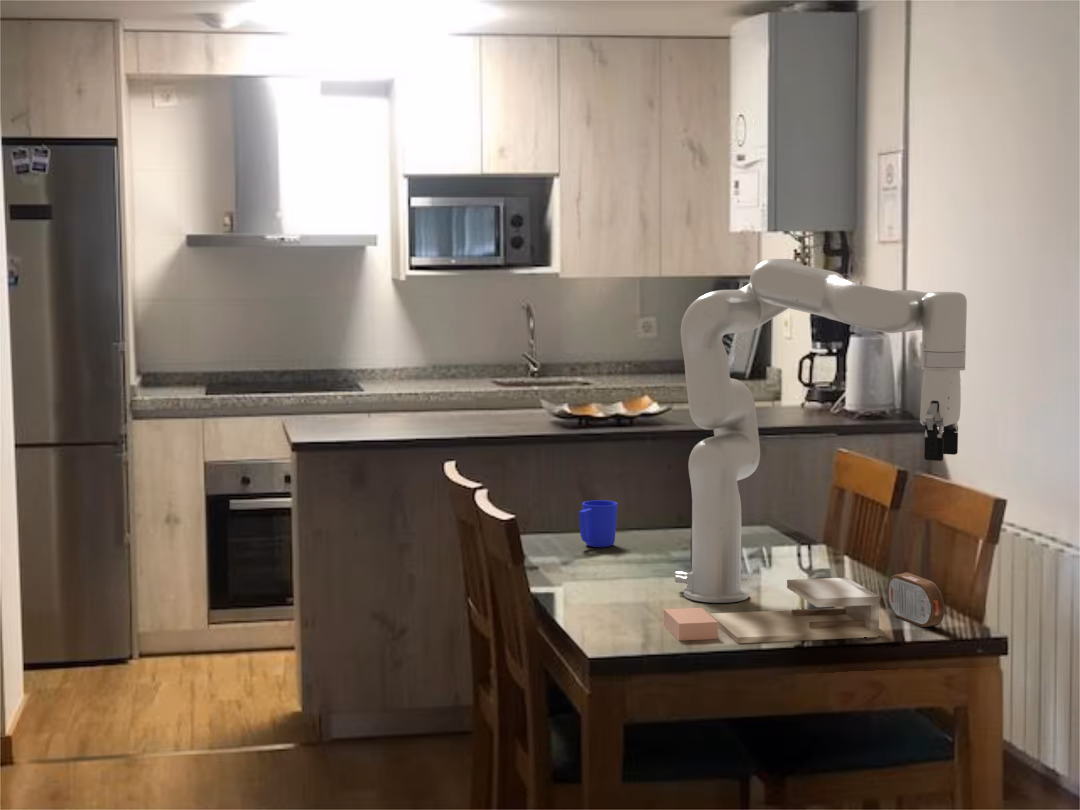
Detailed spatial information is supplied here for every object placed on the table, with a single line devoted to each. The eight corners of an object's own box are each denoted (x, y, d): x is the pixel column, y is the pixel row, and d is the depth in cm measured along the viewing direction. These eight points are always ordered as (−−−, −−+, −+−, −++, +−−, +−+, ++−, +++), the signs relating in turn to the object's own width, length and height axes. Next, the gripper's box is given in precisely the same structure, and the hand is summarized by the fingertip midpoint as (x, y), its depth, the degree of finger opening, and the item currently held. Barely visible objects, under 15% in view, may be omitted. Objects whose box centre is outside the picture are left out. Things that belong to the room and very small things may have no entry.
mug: (566, 549, 346) (566, 505, 345) (594, 541, 355) (594, 499, 355) (596, 553, 341) (596, 509, 340) (624, 544, 351) (624, 502, 350)
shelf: (737, 643, 260) (738, 603, 260) (709, 618, 278) (709, 581, 277) (883, 636, 265) (884, 597, 264) (846, 613, 282) (847, 576, 282)
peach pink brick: (717, 638, 263) (718, 621, 263) (678, 640, 262) (679, 623, 262) (701, 623, 274) (701, 607, 274) (663, 625, 273) (663, 609, 273)
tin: (945, 631, 269) (946, 584, 268) (930, 632, 268) (931, 585, 267) (898, 612, 283) (899, 568, 282) (883, 613, 282) (884, 569, 281)
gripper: (935, 358, 277) (933, 450, 279) (908, 363, 262) (906, 461, 264) (976, 359, 274) (974, 453, 275) (951, 365, 259) (949, 464, 260)
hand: (941, 457), depth 270 cm, fingers open, 9 cm apart
